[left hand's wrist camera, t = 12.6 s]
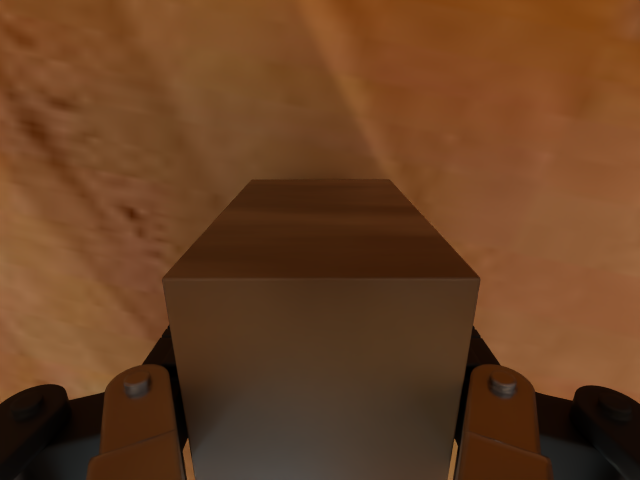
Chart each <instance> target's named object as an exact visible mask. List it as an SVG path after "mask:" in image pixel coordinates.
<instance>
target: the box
mask: <svg viewBox="0 0 640 480" xmlns="http://www.w3.org/2000/svg"><path fill="white" fill-rule="evenodd" d="M162 282H163V288H164V294H165V300H166V306H167V312H168V318H169V324H170V330H171V336H172V342H173V348H174V354H175V360H176V366H177V372H178V378H179V384H180V390H181V396H182V402H183V408H184V415H185V421H186V427H187V433H188V439H189V445H190V451H191V457H192V463H193V469H194V475H195V480H447V479H448V473H449V467H450V461H451V454H452V448H453V442H454V436H455V430H456V424H457V418H458V412H459V406H460V400H461V394H462V388H463V382H464V376H465V370H466V364H467V358H468V352H469V346H470V340H471V334H472V328H473V321H474V315H475V309H476V303H477V297H478V291H479V285H480V277H479V276H478V275H477V274H476V273H475V272H474V271H473V269H472V268H471V267H470V266H469V265H468V264H467V263H466V262H465V261H464V260H463V259H462V258H461V256H460V255H459V254H458V253H457V252H456V251H455V250H454V249H453V248H452V247H451V246H450V245H449V243H448V242H447V241H446V240H445V239H444V238H443V237H442V236H441V235H440V234H439V233H438V232H437V231H436V229H435V228H434V227H433V226H432V225H431V224H430V223H429V222H428V221H427V220H426V219H425V218H424V216H423V215H422V214H421V213H420V212H419V211H418V210H417V209H416V208H415V207H414V206H413V205H412V203H411V202H410V201H409V200H408V199H407V198H406V197H405V196H404V195H403V194H402V193H401V192H400V190H399V189H398V188H397V187H396V186H395V185H394V184H393V183H392V182H391V181H390V180H389V179H349V180H251V181H250V182H249V183H248V184H247V185H246V186H245V188H244V189H243V190H242V191H241V192H240V193H239V194H238V195H237V196H236V198H235V199H234V200H233V201H232V202H231V203H230V204H229V205H228V206H227V207H226V209H225V210H224V211H223V212H222V213H221V214H220V215H219V216H218V217H217V218H216V220H215V221H214V222H213V223H212V224H211V225H210V226H209V227H208V228H207V230H206V231H205V232H204V233H203V234H202V235H201V236H200V237H199V238H198V239H197V241H196V242H195V243H194V244H193V245H192V246H191V247H190V248H189V249H188V251H187V252H186V253H185V254H184V255H183V256H182V257H181V258H180V259H179V260H178V262H177V263H176V264H175V265H174V266H173V267H172V268H171V269H170V270H169V271H168V273H167V274H166V275H165V276H164V277H163V279H162Z"/></svg>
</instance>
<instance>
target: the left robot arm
mask: <svg viewBox="0 0 640 480" xmlns="http://www.w3.org/2000/svg"><path fill="white" fill-rule="evenodd" d="M187 438H188V433H187V427H186V421H185V415H184V408H183V402H182V396H181V390H180V384H179V378H178V372H177V366H176V360H175V354H174V348H173V342H172V336H171V330H170V324H169V326H168V329H166V330H165V332H164V333H163V335H162V338H160V339H159V341H158V342H157V343H156V345H155V346H154V348H153V349H152V351H151V352H150V354H149V355H148V357H147V358H146V360H145V361H144V363H143V364H142V365H140V366H136V367H133V368H130V369H128V370H126V371H124V372H122V373H120V374H119V375H117V376H116V377H115V378H114V379H113V380H112V381H111V382H110V383H109V384H108V386H107V387H106V390H105V392H103V393H99V394H95V395H91V396H86V397H82V398H77V399H73V400H69V399H68V396H67V393H66V390H65V389H64V388H63V387H62V386H59V385H55V384H47V385H40V386H35V387H32V388H29V389H26V390H23V391H21V392H19V393H17V394H15V395H13V396H11V397H10V398H8V399H6V400H5V401H4V402H2V403H1V404H0V480H187V476H186V469H185V462H184V456H183V448H184V446H185V443H186V441H187ZM454 439H455V440H456V442H457V445H458V450H457V456H456V462H455V469H454V476H453V480H640V404H639V403H637V402H636V401H635V400H633V399H631V398H630V397H628V396H626V395H624V394H622V393H620V392H618V391H615V390H612V389H609V388H605V387H601V386H593V385H590V386H583V387H580V388H579V389H577V390H576V392H575V395H574V398H573V401H571V400H567V399H562V398H558V397H553V396H549V395H544V394H541V393H537V392H535V390H534V387H533V386H532V384H531V383H530V382H529V381H528V380H527V379H526V378H525V377H524V376H523V375H521V374H520V373H518V372H516V371H514V370H512V369H510V368H507V367H504V366H501V365H500V364H499V362H498V361H497V359H496V358H495V356H494V355H493V354H492V352H491V351H490V349H489V348H488V346H487V345H486V343H485V342H484V340H483V339H482V338H481V337H480V335H479V333H478V332H477V330H475V327H474V326H473V328H472V334H471V340H470V346H469V352H468V358H467V364H466V370H465V376H464V382H463V388H462V394H461V400H460V406H459V412H458V418H457V424H456V430H455V436H454Z"/></svg>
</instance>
